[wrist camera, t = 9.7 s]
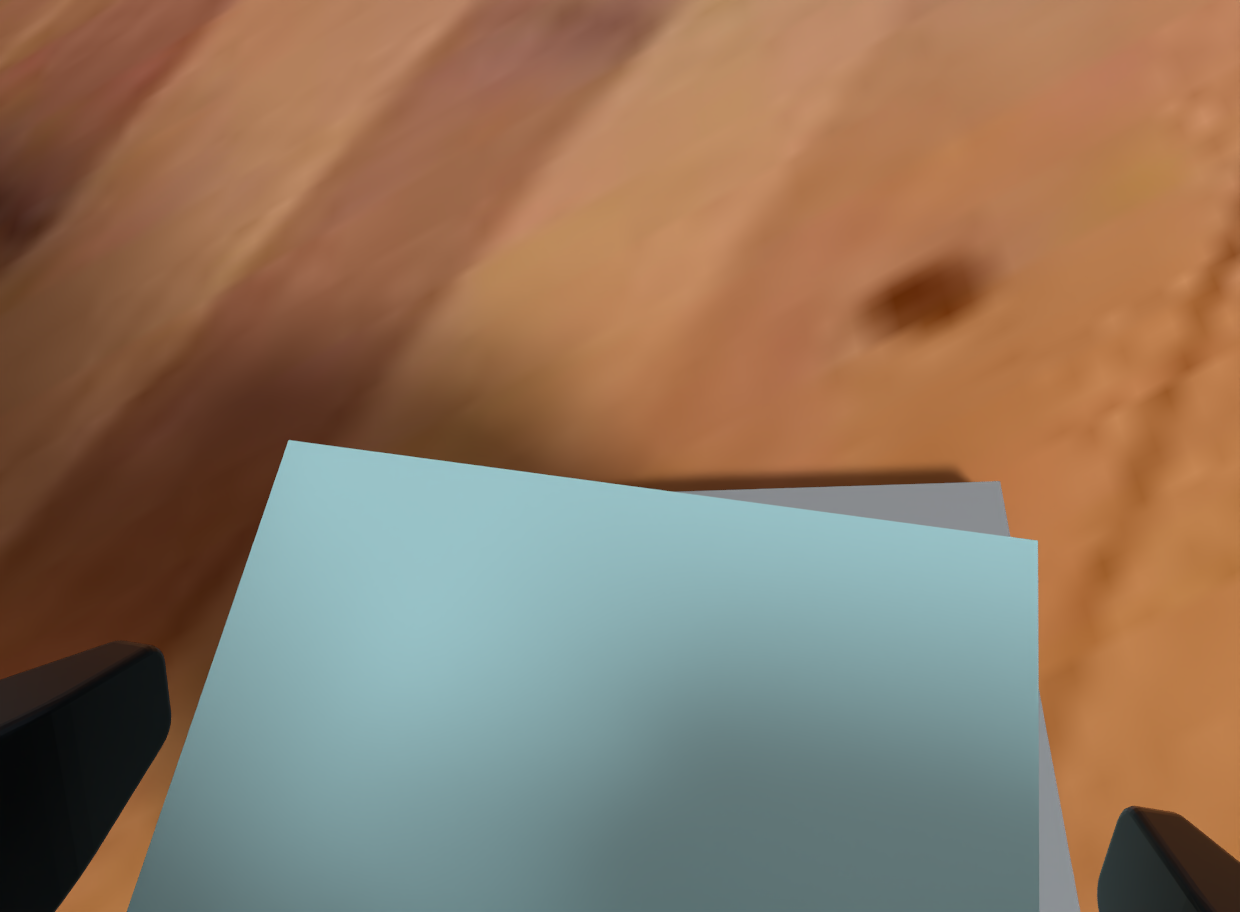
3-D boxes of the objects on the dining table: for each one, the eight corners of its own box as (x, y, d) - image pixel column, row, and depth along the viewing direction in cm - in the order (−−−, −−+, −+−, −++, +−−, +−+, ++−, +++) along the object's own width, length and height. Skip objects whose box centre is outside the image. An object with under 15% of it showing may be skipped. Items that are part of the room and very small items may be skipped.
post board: (1161, 1463, 13) (1367, 1716, 9) (151, 1438, 14) (-65, 1660, 10) (987, 496, 19) (1066, 393, 15) (286, 518, 19) (184, 425, 16)
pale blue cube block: (830, 1195, 14) (1041, 1660, 5) (377, 1093, 14) (-27, 1361, 6) (862, 714, 16) (1037, 540, 8) (479, 653, 17) (289, 440, 9)
